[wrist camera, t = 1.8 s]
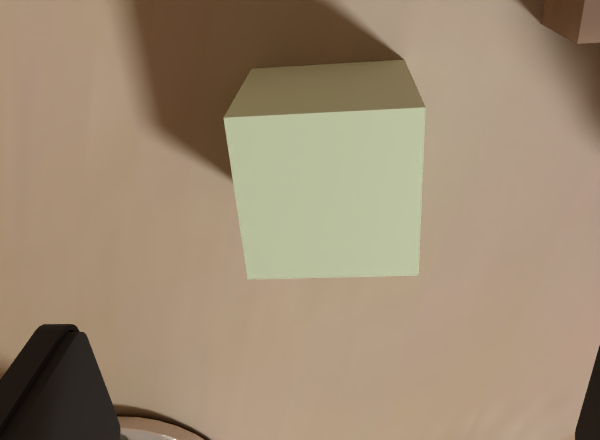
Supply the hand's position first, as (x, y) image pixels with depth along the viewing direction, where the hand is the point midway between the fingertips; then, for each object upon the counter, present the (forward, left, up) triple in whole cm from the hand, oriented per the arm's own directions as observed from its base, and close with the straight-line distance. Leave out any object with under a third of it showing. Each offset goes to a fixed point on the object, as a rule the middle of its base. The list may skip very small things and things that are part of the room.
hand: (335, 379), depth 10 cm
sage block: (-1, 0, -14) cm, 14 cm away
